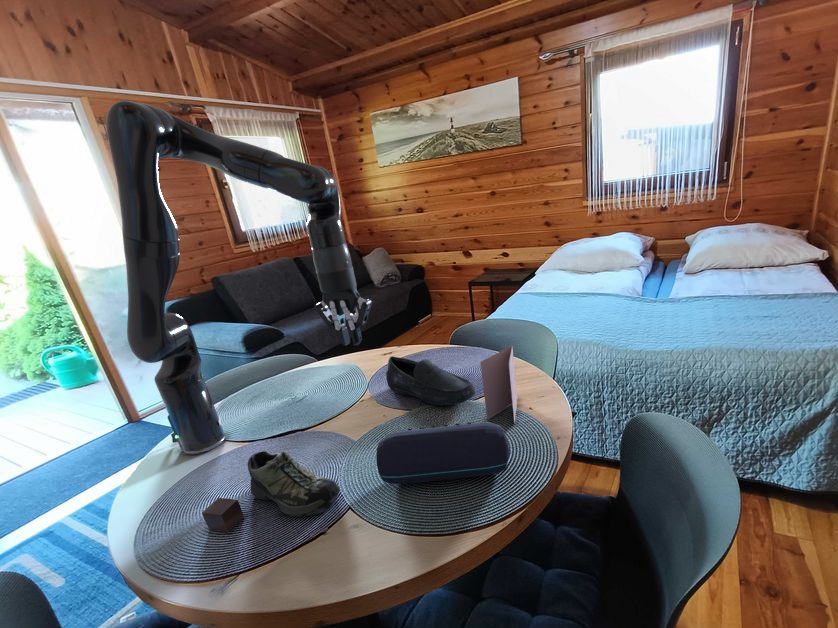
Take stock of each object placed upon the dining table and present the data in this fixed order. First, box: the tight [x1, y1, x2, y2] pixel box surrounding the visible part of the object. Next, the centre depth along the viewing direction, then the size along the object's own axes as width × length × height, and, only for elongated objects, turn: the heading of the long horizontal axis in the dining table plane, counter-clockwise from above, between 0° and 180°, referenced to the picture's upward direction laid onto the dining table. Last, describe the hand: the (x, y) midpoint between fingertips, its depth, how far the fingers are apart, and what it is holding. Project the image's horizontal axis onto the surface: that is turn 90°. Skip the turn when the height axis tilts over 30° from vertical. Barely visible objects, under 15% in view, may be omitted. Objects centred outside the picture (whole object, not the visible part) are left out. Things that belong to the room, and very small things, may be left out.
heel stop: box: [201, 497, 245, 533], centre depth 78 cm, size 4×4×4 cm
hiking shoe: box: [247, 450, 341, 518], centre depth 82 cm, size 8×21×9 cm, turn 65°
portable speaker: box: [375, 421, 510, 485], centre depth 83 cm, size 25×10×10 cm, turn 90°
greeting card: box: [479, 345, 518, 425], centre depth 101 cm, size 11×7×15 cm, turn 136°
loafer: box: [385, 355, 476, 406], centre depth 116 cm, size 10×29×10 cm, turn 58°
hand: (351, 343), depth 97 cm, fingers closed
